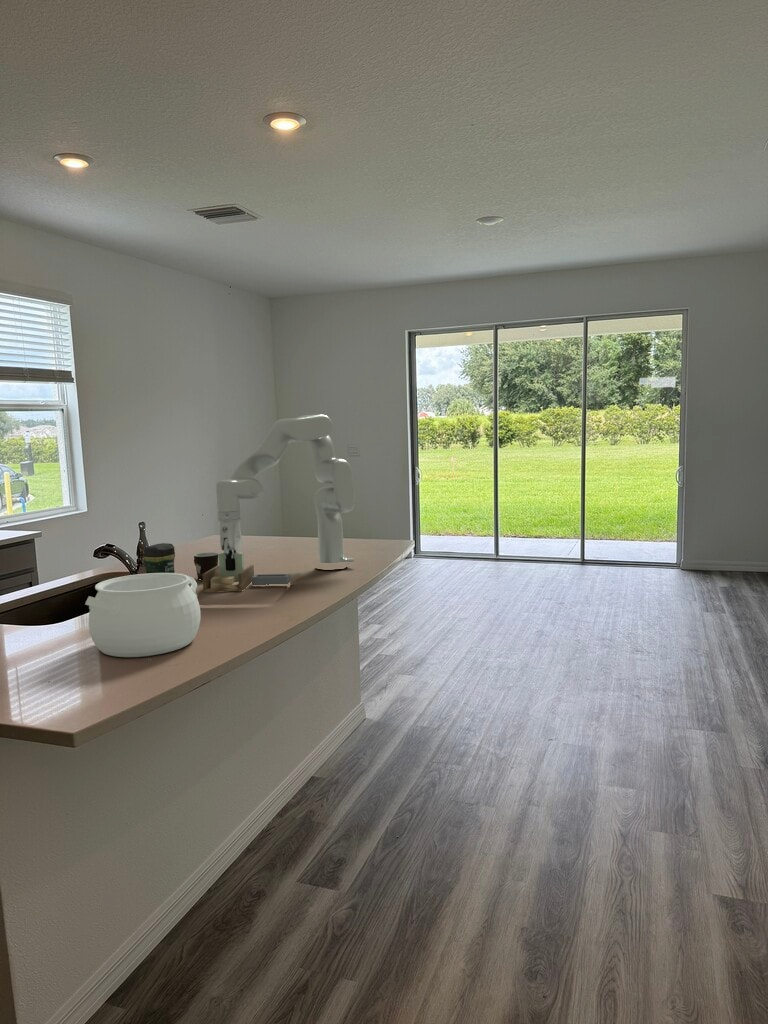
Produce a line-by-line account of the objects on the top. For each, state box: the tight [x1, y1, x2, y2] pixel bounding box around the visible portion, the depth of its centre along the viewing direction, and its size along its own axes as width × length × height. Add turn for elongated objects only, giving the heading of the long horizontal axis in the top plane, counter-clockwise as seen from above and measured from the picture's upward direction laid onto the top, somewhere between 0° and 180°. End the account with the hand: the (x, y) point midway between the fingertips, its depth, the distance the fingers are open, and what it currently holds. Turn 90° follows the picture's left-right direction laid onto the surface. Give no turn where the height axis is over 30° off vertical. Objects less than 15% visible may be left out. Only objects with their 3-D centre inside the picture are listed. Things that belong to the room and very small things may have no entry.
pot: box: [84, 573, 202, 658], centre depth 174 cm, size 29×26×16 cm
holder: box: [251, 573, 291, 586], centre depth 237 cm, size 12×6×4 cm, turn 85°
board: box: [218, 552, 245, 582], centre depth 239 cm, size 8×2×11 cm, turn 85°
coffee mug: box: [193, 551, 219, 580], centre depth 252 cm, size 12×9×10 cm
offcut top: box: [211, 576, 235, 585], centre depth 232 cm, size 7×4×2 cm, turn 90°
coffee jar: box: [143, 542, 176, 574], centre depth 221 cm, size 10×8×19 cm
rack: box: [202, 564, 255, 593], centre depth 236 cm, size 13×15×7 cm
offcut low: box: [211, 582, 239, 588], centre depth 233 cm, size 9×4×2 cm, turn 85°
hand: (231, 569), depth 239 cm, fingers closed on board, 2 cm apart
